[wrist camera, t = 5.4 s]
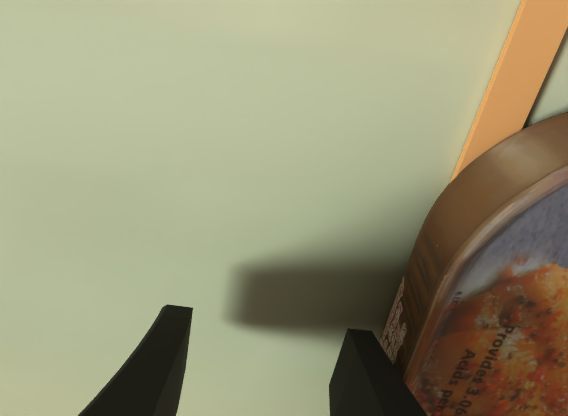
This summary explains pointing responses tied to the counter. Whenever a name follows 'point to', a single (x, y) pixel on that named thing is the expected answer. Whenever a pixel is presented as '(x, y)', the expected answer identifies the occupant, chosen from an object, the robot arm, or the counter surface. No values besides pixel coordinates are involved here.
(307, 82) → the counter surface
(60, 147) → the counter surface
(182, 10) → the counter surface
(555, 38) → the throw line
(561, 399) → the tin
